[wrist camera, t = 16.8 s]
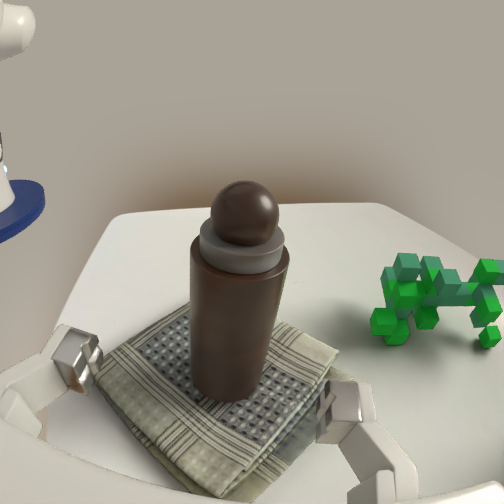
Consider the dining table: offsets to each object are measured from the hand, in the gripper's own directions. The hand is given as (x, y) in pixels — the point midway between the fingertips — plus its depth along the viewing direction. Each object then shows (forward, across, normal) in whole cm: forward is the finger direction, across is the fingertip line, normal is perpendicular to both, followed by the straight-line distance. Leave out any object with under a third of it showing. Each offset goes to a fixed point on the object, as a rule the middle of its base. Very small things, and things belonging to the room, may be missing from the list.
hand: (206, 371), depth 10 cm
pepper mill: (+9, 0, +13) cm, 16 cm away
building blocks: (+20, -24, +16) cm, 35 cm away
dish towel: (+9, 0, +16) cm, 18 cm away
